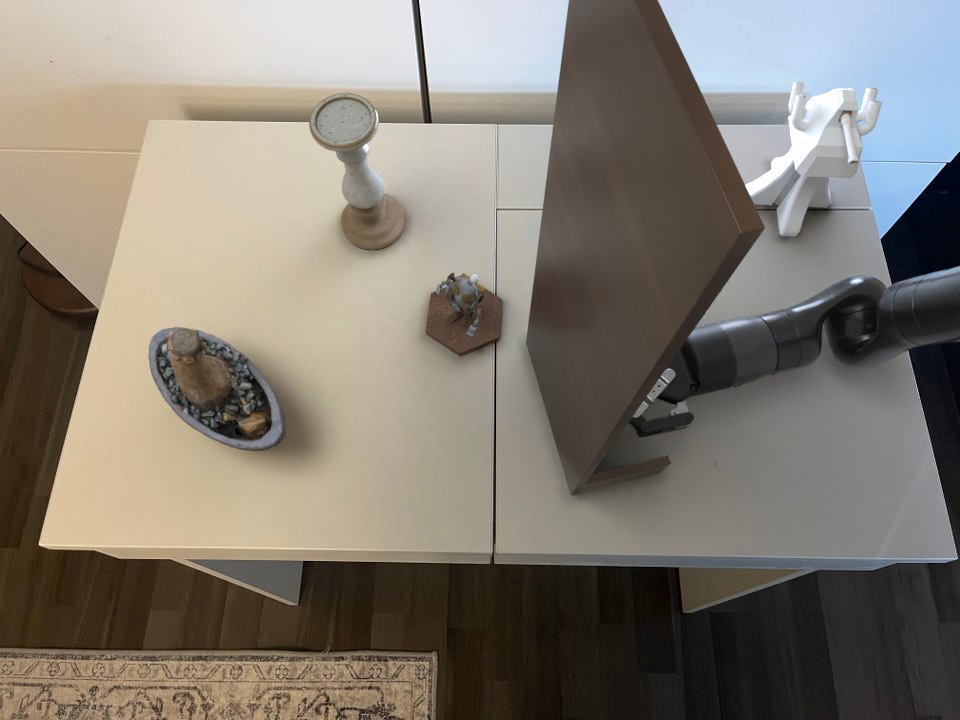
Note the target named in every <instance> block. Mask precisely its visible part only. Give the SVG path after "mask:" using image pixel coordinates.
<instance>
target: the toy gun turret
mask: <svg viewBox="0 0 960 720" xmlns="http://www.w3.org/2000/svg"><path fill="white" fill-rule="evenodd" d="M805 86H806V82H793V85H792V89H791V94H790V97H789V101H788V111H789V114H790V115H789V116H788V118H787V119H788V126H789V134H790V141H791V147H790V149H789V151H788V152H787V153H786V154H785V155H784V156H781V157H775V158H773V159H772V161H771V163H770V165H771V166H770V167H771V169H770V170H768V171H767V172H766V173H764V174H762V176H760V177H758V178H756V179H754V180H752V181H751V182H749V183H746V184H745V186H746V188H747V190H748V192H749V194H750V196H751V199H752V201H753V203H754V205H755V206H756V205H757V206H772V207H773V208H774V209H776V216H777V224H778V231H779V233H778V234H779V236H780V237H794V238H796V237H797V236H798V235H799V233H800V232H801V230H802V226H803V222H804V220H805V216H806V214H807V210H808V208H821V209H822V208H823V209H827V208H828V207H830V205H831V204H832V195H831V190H830V187H829V181H830V179H831V178H832V179H852V177H853V176H854V175H856V174H857V172H858V168H859V166H860V165H859V164H860V159H861V156H862V152H863V147H864V146H863V141H862V137H864V136H866V135H869V133H871V132H872V131H873V130H874V128H875V127H876V125H877V122H878V118H879V115H880V112H881V111H880V110H881V108H882V103H883V101H877V99H876V98H877V96H878V92H879V88H878V87H866V89H865V93H864V96H863V100H862V104H861V108H860V110H859V106H858V101H857V95H856V91H855V88H832V89H831V90H829V92H828V91H827V92H825V93H822V94H819V95H815V96H812V97H811V98H810V99H809V100H808V98H809V96H807V95H803V93H804V90H805ZM861 122H863V124H859V123H861Z"/></svg>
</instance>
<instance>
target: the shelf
mask: <svg viewBox="0 0 960 720" xmlns="http://www.w3.org/2000/svg"><path fill="white" fill-rule="evenodd" d="M560 59H561V60H560V69H559V76H558V84H557V91H556V100H555V108H554V115H553V125H552V131H551V139H550V147H549V153H548V154H549V155H548V163H547V171H546V179H545V188H544V195H543V204H542V211H541V219H540V227H539V234H538V241H537V242H538V244H537V251H536V260H535V265H534V266H535V267H534V274H533V283H532V290H531V297H530V299H531V300H530V306H529V314H528V321H527V331H526V339H525V344H526V348H527V350H528V354H529V357H530V361H531V364H532V368H533V372H534V375H535V378H536V381H537V386H538V388H539V391H540V396H541V398H542V399H541V400H542V402H543V405H544V406H543V407H544V409H545V413H546V416H547V419H548V422H549V426H550V429H551V433H552V436H553V440H554V443H555V446H556V450H557V453H558V457H559V460H560V464H561V467H562V470H563V474H564V477H565V481H566V483H567V488H568V492H569V494H570V496H573V495H577V494H581V493H586V492H589V491H593V490H597V489H601V488H605V487H609V486H613V485H617V484H621V483H626V482H630V481H634V480H637V479H641V478H645V477H649V476H654V475H656V474H657V475H658V474H661V473H662V472H663V471H664V470H666V468H668V467H669V466H670V465H671V464H672V462H671V459H670V456H669V455H668V454H667V455H662V456H658V457H655V458H651V459H647V460H643V461H639V462H634V463H631V464H630V463H629V464H626V465H623V466H618V467H614V468H610V469H606V470H603V471H598V472H595V471H596V470H597V468H598V466H599V465H600V464H601V462H603V460H604V458H605V457H606V456H607V454H608V452H609V450H611V448H612V447H613V446H614V444H615V442H616V441H617V439H618V438H619V437H620V435H621V434H622V433H623V431H624V429H625V428H627V425H629V424H628V422H629V421H630V419H631V418H632V417H633V415H634V414H635V412H636V411H637V410H638V408H639V407H640V405H641V404H642V402H643V401H644V400H645V398H646V397H647V395H648V394H649V392H650V391H651V390H652V388H653V387H654V385H655V384H656V383H657V381H658V380H659V378H660V377H661V375H662V374H663V373H664V371H665V370H666V368H667V367H668V365H669V364H670V363H671V361H672V360H673V358H674V357H675V356H676V354H677V353H678V351H679V350H680V348H681V347H682V346H683V344H684V343H685V341H686V340H687V338H688V337H689V336H690V334H691V333H692V331H693V330H694V329H695V328H696V327H698V324H699V323H700V321H701V320H702V318H703V317H704V316H705V314H706V313H707V312H708V310H709V309H710V307H711V306H712V305H713V303H714V302H715V301H716V299H717V297H718V296H719V295H720V293H721V291H722V290H723V289H724V287H725V286H726V284H727V283H728V282H729V280H730V279H731V277H732V276H733V275H734V273H735V272H736V270H737V269H738V267H739V266H740V265H741V264H742V262H743V260H744V259H745V257H746V256H747V255H748V253H749V252H750V250H751V249H752V248H753V246H754V245H755V244H756V242H757V241H758V239H759V238H760V237H761V235H762V234H763V232H764V230H765V229H766V226H765V224H764V222H763V220H762V217H761V215H760V213H759V211H758V208H757V207H756V205H754V203H753V201H752V199H751V196H750V194H749V192H748V190H747V188H746V186H745V185H746V184H745V181H744V180H743V177H742V175H741V172H740V171H739V169H738V167H737V164H736V163H735V161H734V159H733V156H732V155H731V152H730V150H729V148H728V145H727V143H726V141H725V139H724V137H723V136H722V135H723V134H722V133H721V131H720V128H719V127H718V125H717V122H716V121H715V118H714V116H713V114H712V112H711V110H710V108H709V105H708V103H707V102H706V99H705V97H704V95H703V93H702V91H701V88H700V86H699V84H698V82H697V80H696V78H695V76H694V74H693V72H692V70H691V69H692V68H691V67H690V65H689V63H688V61H687V59H686V56H685V54H684V52H683V50H682V48H681V46H680V44H679V42H678V40H677V38H676V36H675V34H674V32H673V29H672V27H671V25H670V23H669V20H668V19H667V17H666V14H665V12H664V10H663V8H662V6H661V4H660V2H659V0H568V4H567V12H566V20H565V27H564V36H563V44H562V53H561V58H560ZM594 472H595V473H594Z"/></svg>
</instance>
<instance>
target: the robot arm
mask: <svg viewBox="0 0 960 720" xmlns="http://www.w3.org/2000/svg"><path fill="white" fill-rule="evenodd" d="M823 327H824V330H825V334H826V338H827V341H828V346H829V351H830V353H831V355H832V358H833V359H834V360H835V361H836V362H837V363H838V364H839V365H841V366H842V367H845V368H847V369H851V370H866V369H871V368H875V367H878V366H880V365H883V364H885V363H888V362H889V361H891V360H893V359H895V358H897V357H899V356H901V355H902V354H904V353H906V352H908V351H910V350H913V349H916V348H921V347H926V346H934V345H942V344H943V345H944V344H950V343H959V342H960V265H958V266H954V267H950V268H946V269H942V270H938V271H934V272H929V273H926V274H921V275H918V276H914V277H910V278H906V279H903V280H899V281H897V282H894V283H892V284H890V286H888V287H887V286H886V285H885V284H884V281H881V280H880V279H878V278H876V277H874V276H870V275H853V276H850V277H846V278H844V279H840V280H839V281H837V282H835V283H833V284H831V285H830V286H828V287H825V289H822V290H821V291H820V292H818V293H816V294H814V295H812V296H810V297H809V298H806V299H805V300H803V301H801V302H799V303H797V304H794V305H791V306H788V307H785V308H782V309H781V308H780V309H778V310H774V311H769V312H765V313H761V314H756V315H753V316H746V317H745V316H744V317H735V318H731V319H726V320H725V319H724V320H722V321H717V322H713V323H709V324H705V325H699V326H696V327H695V329H694V330H693V331H692V333H691V334H690V336H689V337H688V338H687V340H686V341H685V343H684V344H683V346H682V347H681V348H680V350H679V351H678V353H677V354H676V356H675V357H674V358H673V360H672V361H671V363H670V364H669V365H668V367H667V368H666V370H665V371H664V373H663V374H662V375H661V377H660V378H659V380H658V381H657V383H656V384H655V385H654V387H653V388H652V390H651V391H650V392H649V394H648V395H647V397H646V398H645V400H644V401H643V402H642V404H641V405H640V407H639V408H638V410H637V411H636V412H635V414H634V415H633V417H632V418H631V419H630V421H629V422H628V424H627V425H630V426H631V427H632V428H633V429H634V431H635V434H636V436H637V437H639V438H642V439H643V438H647V437H652V436H656V435H661V434H665V433H670V432H675V431H679V430H685V429H687V428H688V427H689V426H690V425H691V424H692V423H693V422H694V421H695V415H694V414H693V413H692V412H691V411H689V408H688V405H687V402H686V400H688V399H690V398H693V397H697V396H702V395H706V394H710V393H714V392H719V391H723V390H726V389H731V388H739V387H742V386H744V385H747V384H750V383H751V384H752V383H755V382H757V381H759V380H761V379H762V380H763V379H764V378H767V377H771V376H774V375H778V374H783V373H787V372H791V371H795V370H800V369H803V368H806V367H809V366H811V365H813V364H814V363H816V362H817V360H818V359H819V357H820V356H821V351H822V346H823V345H822V344H823ZM656 400H659V401H662V402H665V403H667V404H670V405H672V406H674V407H675V408H672V410H670V412H669V413H668V415H667V416H661V417H657V418H652V419H648V420H647V419H646V417H644V413H645V412H646V411H648V409H650V407H651V406H652V405H653V404H654V403H655V402H656Z"/></svg>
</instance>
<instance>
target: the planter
mask: <svg viewBox="0 0 960 720" xmlns="http://www.w3.org/2000/svg"><path fill="white" fill-rule="evenodd" d="M147 355H148V361H149V363H148V364H149V371H150V374H151V377H152V380H153V381H154V383H155V385H156V387H157V390H158V391H159V393H160V395H161V396H162V398H163V399H164V401H165V402H166V403H167V405H168V406H169V407H170V408H171V410H172V411H173V412H174V414H175V415H177V417H179V418H180V419H181V421H183V422H184V423H185V424H187V425H188V426H189V427H190V428H192V429H194V430H195V431H197V432H199V433H201V434H202V435H204V436H205V437H207V438H208V439H211V440H213V441H214V442H216V443H217V442H218V443H219V444H221V445H224V446H227V447H230V448H232V449H234V448H235V449H237V450H241V451H247V452H265V451H268V450H271V449H274V448H275V447H277V446H278V445H280V444H281V443H282V441H283V440H284V438H285V436H286V433H287V419H286V414H285V409H284V407H283V404H282V402H281V399H280V398H279V396H278V394H277V393H276V390H275V389H274V388H273V386H272V385H271V383H270V382H269V380H268V379H267V378H266V376H265V375H264V373H262V371H261V370H260V369H259V368H258V367H257V365H256V364H255V363H254V362H253V361H252V360H250V358H248V356H246V355H245V354H244V353H243V352H241V351H240V350H239V349H238V348H237V349H236V348H235V347H234V346H233V345H231V344H230V343H229V342H227V341H226V340H224V339H222V338H220V337H217V336H215V335H214V334H211V333H206V332H204V331H202V330H200V329H195V328H188V327H184V326H183V327H181V326H175V327H168V328H163V329H160V330H159V331H158V332H156V333H155V334H154V335H152V337H151V339H150V341H149V345H148V354H147Z"/></svg>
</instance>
